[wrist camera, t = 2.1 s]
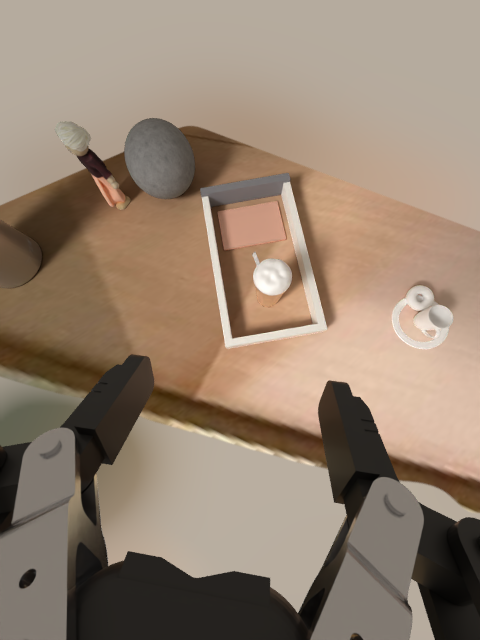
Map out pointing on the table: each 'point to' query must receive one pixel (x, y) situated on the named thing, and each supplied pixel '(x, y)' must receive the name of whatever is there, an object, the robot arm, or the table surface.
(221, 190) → the tray
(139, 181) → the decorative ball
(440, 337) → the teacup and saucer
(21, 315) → the table surface
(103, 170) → the grandmother figurine
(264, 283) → the milkshake
